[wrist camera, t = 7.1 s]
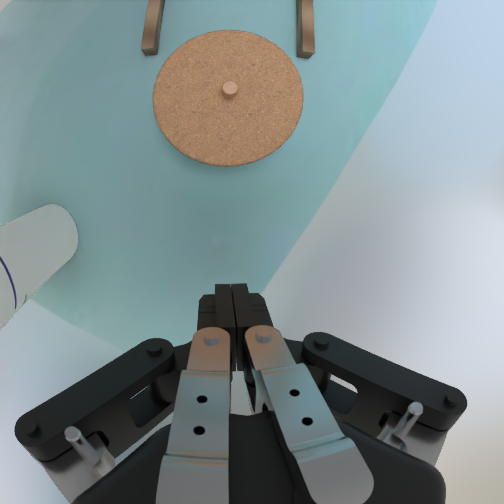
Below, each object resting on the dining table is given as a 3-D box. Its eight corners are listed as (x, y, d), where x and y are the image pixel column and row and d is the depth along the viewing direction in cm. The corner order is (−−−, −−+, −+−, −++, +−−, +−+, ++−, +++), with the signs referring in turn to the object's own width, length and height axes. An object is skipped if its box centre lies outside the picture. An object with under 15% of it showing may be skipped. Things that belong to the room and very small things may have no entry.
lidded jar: (301, 114, 25) (342, 99, 16) (222, 184, 26) (226, 202, 18) (228, 41, 21) (236, -3, 12) (147, 111, 23) (115, 94, 14)
